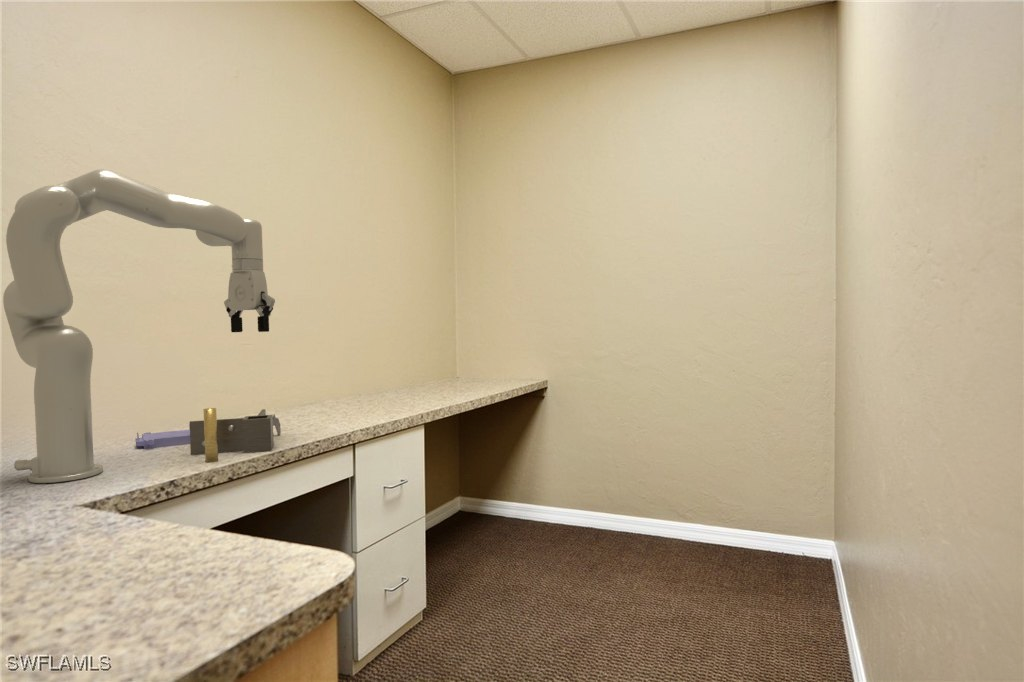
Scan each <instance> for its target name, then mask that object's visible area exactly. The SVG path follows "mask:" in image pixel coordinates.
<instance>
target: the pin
mask: <svg viewBox="0 0 1024 682" xmlns="http://www.w3.org/2000/svg"><path fill="white" fill-rule="evenodd" d="M202 411H203V420H204V437H205V454H204V458H205V463H215V462H218V461H219V453H218V444H217V420H218V419H217V408H216V407H208V408H203V410H202Z"/></svg>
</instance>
